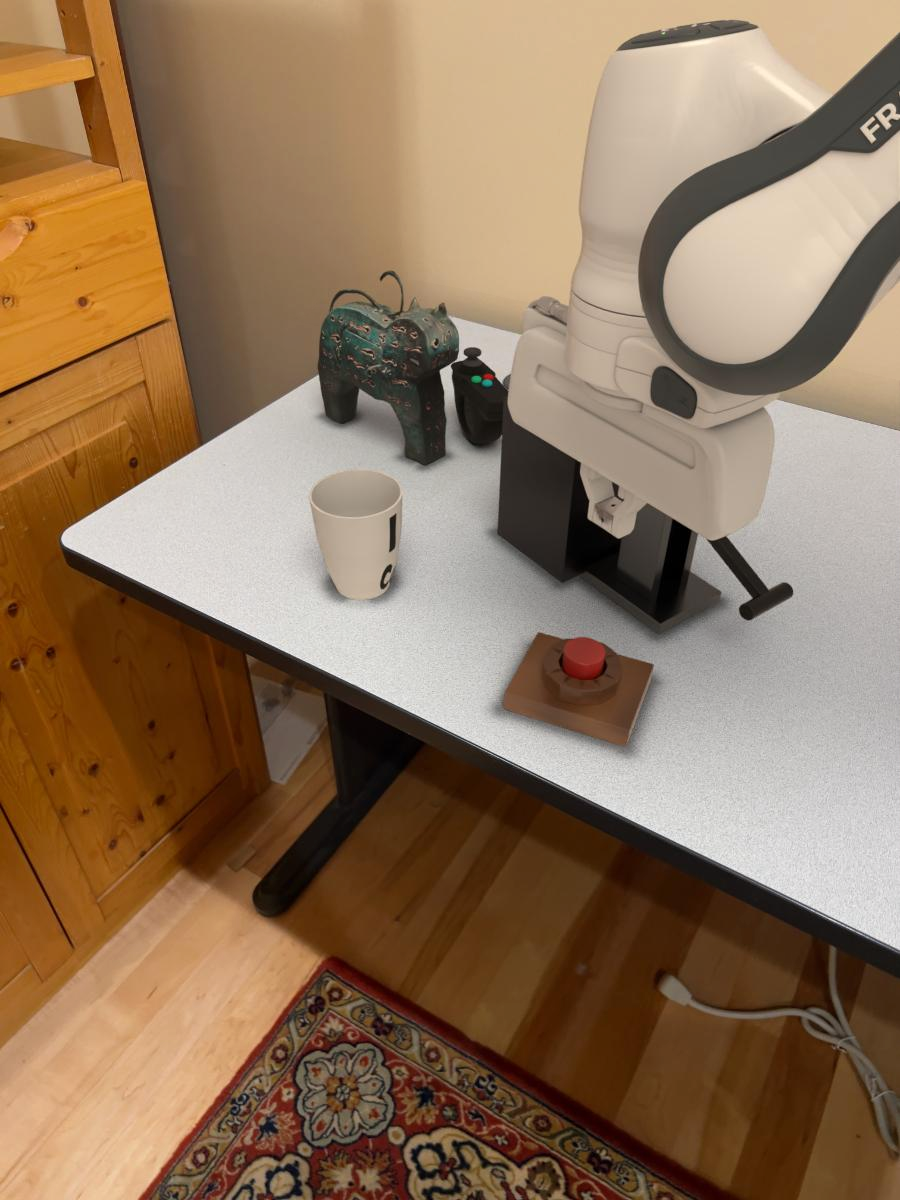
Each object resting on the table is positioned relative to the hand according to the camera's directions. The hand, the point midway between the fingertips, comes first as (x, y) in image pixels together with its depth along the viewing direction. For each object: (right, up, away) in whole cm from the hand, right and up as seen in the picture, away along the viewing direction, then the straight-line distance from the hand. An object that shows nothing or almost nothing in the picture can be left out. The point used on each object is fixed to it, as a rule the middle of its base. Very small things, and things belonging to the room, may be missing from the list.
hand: (609, 526), depth 62 cm
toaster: (+1, +1, +27) cm, 27 cm away
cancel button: (-1, -10, +7) cm, 13 cm away
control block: (-1, -13, +9) cm, 16 cm away
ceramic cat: (-19, +14, +43) cm, 49 cm away
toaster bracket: (+7, -4, +20) cm, 22 cm away
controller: (-8, +13, +42) cm, 45 cm away
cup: (-19, -4, +21) cm, 29 cm away
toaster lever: (+10, 0, +12) cm, 16 cm away
